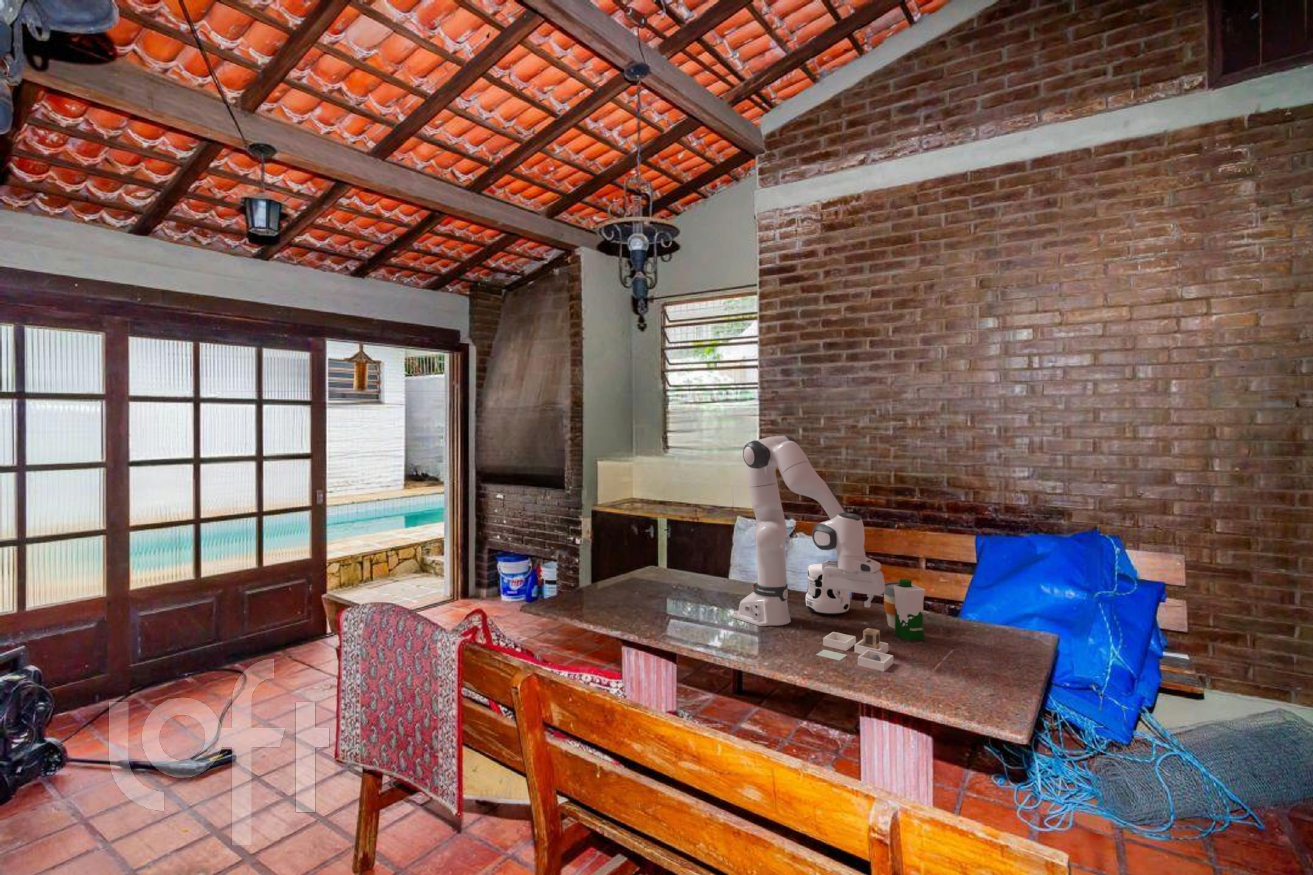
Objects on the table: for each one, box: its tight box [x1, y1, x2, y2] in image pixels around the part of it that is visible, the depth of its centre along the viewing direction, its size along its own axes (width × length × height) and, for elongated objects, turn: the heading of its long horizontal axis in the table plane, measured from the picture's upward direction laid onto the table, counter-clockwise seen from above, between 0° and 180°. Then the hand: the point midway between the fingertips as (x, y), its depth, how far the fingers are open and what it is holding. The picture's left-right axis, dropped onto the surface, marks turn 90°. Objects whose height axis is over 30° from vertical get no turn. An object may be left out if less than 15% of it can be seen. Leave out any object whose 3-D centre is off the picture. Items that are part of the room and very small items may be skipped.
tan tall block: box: [862, 627, 881, 649], centre depth 205 cm, size 4×4×7 cm
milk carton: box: [893, 578, 926, 642], centre depth 219 cm, size 9×9×20 cm
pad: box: [815, 649, 848, 661], centre depth 202 cm, size 8×6×1 cm
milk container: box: [805, 563, 851, 616], centre depth 252 cm, size 17×17×18 cm
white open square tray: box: [822, 631, 857, 651], centre depth 212 cm, size 8×8×3 cm
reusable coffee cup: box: [883, 581, 917, 629], centre depth 233 cm, size 13×13×15 cm
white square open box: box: [857, 650, 894, 672], centre depth 194 cm, size 8×8×3 cm
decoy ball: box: [870, 654, 881, 661], centre depth 194 cm, size 3×3×3 cm
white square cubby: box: [854, 638, 889, 655], centre depth 205 cm, size 8×8×3 cm
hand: (853, 604), depth 204 cm, fingers open, 8 cm apart
